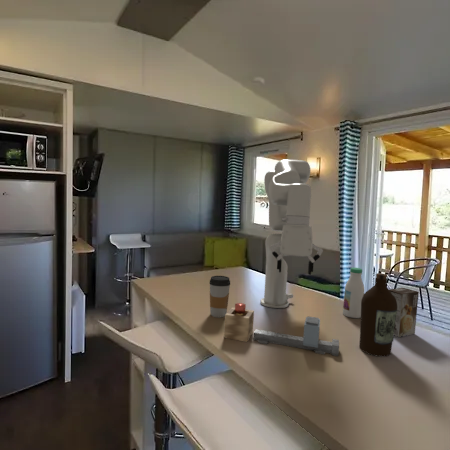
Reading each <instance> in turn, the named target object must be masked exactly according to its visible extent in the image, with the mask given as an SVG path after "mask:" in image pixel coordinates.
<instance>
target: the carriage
mask: <svg viewBox="0 0 450 450" xmlns="http://www.w3.org/2000/svg"><path fill="white" fill-rule="evenodd" d="M320 325H321V318H319V317H316V316H310V315H309V316H306V317H305V320H304V324H303V336H302V337H303V345H305V346H311V347H317V348H318V340H320V339H319V338H320Z"/></svg>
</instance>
